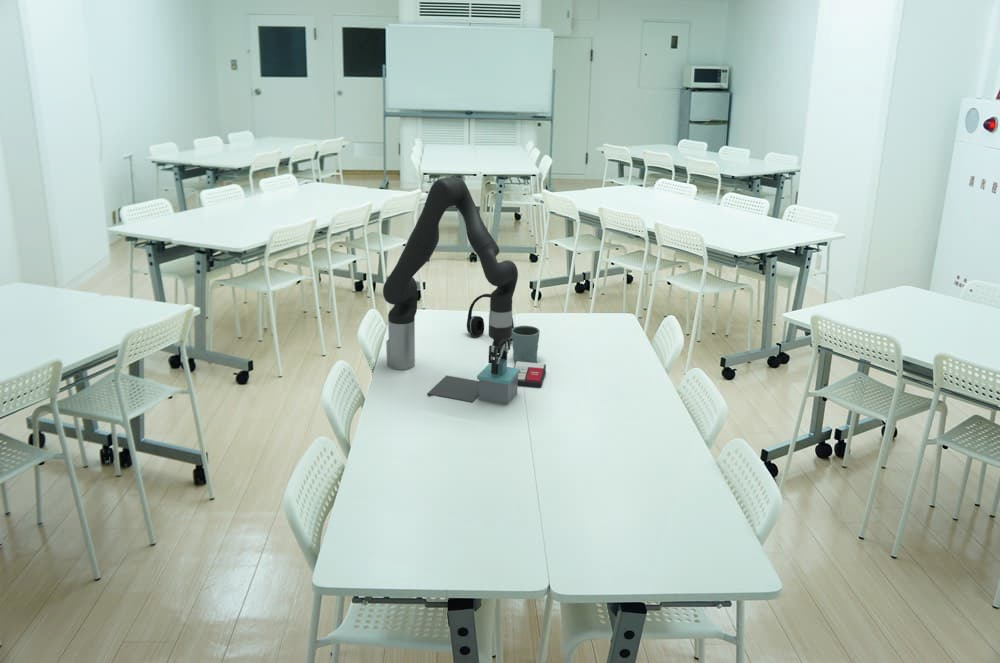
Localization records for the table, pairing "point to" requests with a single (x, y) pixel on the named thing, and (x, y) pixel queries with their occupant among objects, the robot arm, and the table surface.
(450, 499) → the table surface
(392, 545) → the table surface
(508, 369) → the lid
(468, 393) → the mat
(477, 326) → the headphones
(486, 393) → the box
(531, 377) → the calculator
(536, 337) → the grey cup
